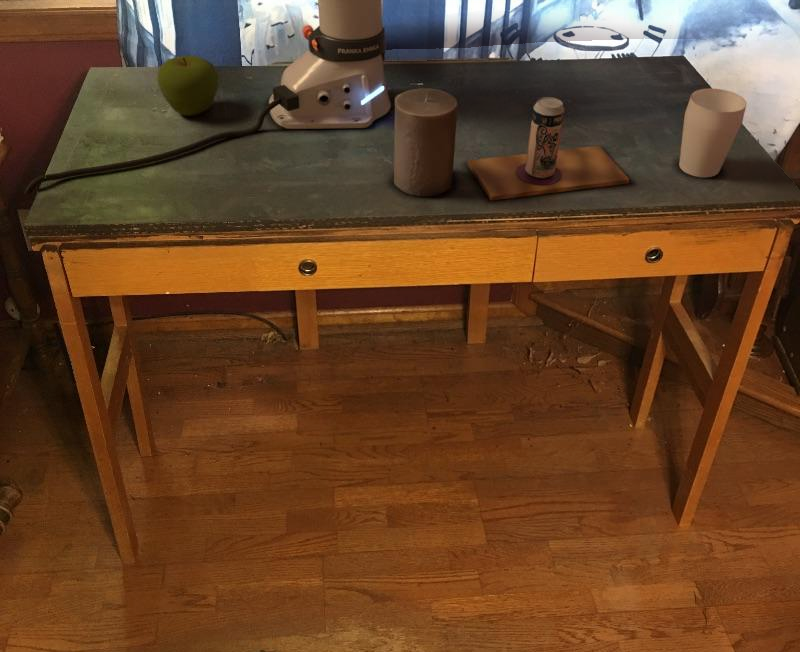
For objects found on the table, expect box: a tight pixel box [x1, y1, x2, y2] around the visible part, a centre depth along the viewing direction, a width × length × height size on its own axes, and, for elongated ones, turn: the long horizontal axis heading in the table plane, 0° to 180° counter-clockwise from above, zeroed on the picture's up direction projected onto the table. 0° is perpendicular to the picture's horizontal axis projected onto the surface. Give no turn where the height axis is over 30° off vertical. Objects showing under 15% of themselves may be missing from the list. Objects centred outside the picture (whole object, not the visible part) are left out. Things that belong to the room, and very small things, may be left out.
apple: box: [157, 55, 219, 117], centre depth 153 cm, size 11×10×10 cm
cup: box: [678, 87, 747, 178], centre depth 141 cm, size 9×9×12 cm
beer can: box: [526, 96, 565, 178], centre depth 137 cm, size 5×5×12 cm
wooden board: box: [467, 145, 630, 201], centre depth 142 cm, size 24×12×1 cm, turn 105°
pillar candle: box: [393, 88, 458, 198], centre depth 135 cm, size 10×10×15 cm
